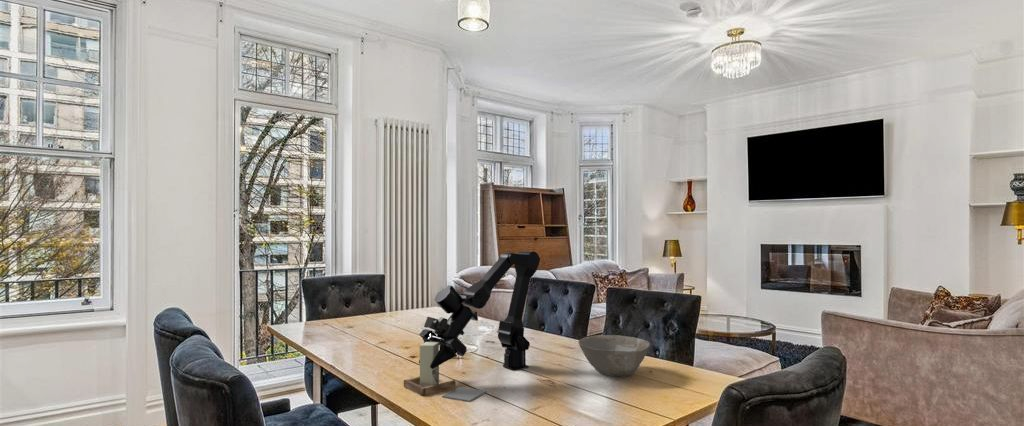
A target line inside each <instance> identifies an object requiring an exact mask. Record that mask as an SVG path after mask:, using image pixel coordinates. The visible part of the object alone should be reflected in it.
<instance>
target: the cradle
mask: <svg viewBox="0 0 1024 426" xmlns="http://www.w3.org/2000/svg"><path fill="white" fill-rule="evenodd" d="M456 383H457V382H456V380H449V381H445V382H439V384H436V385H431V386H427V387H422V386H420V376H417V377H413V378H412V377H411V378H408V379H404V380H403V388H404V389H407V390H409V391H411V392H414V393H415V394H417V395H419V396H422V397H425V396H428V395H432V394H437V393H441V392H445V391H449V390H452V389H453V390H454V389H456V386H457V385H456Z"/></svg>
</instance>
